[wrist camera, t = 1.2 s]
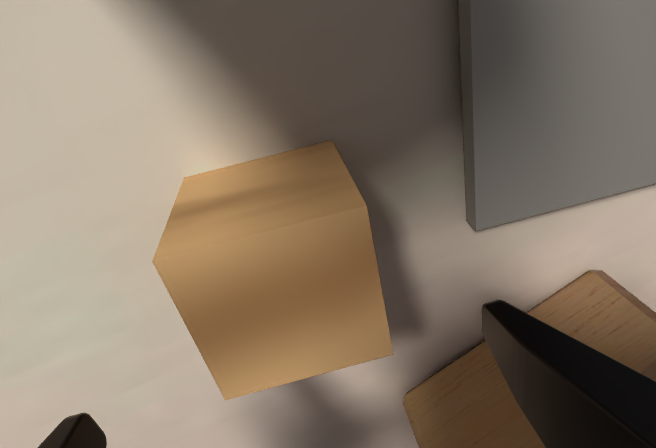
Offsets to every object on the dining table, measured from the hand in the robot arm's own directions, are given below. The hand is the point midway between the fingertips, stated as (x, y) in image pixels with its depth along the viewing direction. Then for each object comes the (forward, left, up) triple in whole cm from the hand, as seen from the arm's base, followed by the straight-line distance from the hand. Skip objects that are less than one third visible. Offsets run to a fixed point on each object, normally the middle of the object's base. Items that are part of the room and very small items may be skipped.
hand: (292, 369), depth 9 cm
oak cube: (0, 0, -7) cm, 7 cm away
